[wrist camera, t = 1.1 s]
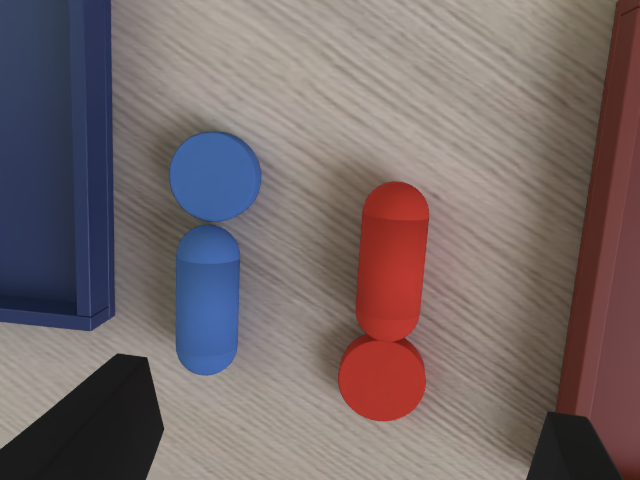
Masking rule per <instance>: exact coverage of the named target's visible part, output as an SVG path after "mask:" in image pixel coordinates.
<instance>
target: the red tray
mask: <svg viewBox="0 0 640 480" xmlns="http://www.w3.org/2000/svg"><path fill="white" fill-rule="evenodd" d="M556 413H563V414H570V415H577V416H585V417H587V418H588V419H589V421H590V422H591V423H592V425H593V427H594V428H595V430H596V432H597V434H598V436H599V437H600V439H601V441H602V443H603V444H604V446H605V448H606V450H607V451H608V453H609V455H610V457H611V458H612V460H613V462H614V464H615V465H616V467H617V469H618V470H619V472H620V474H621V475H622V477H623V479H624V480H640V0H618V1H617V5H616V12H615V19H614V25H613V32H612V39H611V45H610V52H609V59H608V65H607V72H606V79H605V85H604V92H603V99H602V106H601V112H600V119H599V126H598V132H597V139H596V146H595V152H594V159H593V166H592V172H591V179H590V186H589V192H588V199H587V206H586V212H585V219H584V226H583V233H582V239H581V246H580V253H579V259H578V266H577V273H576V279H575V286H574V293H573V299H572V306H571V313H570V319H569V326H568V333H567V339H566V346H565V353H564V360H563V366H562V373H561V380H560V386H559V393H558V400H557V406H556Z"/></svg>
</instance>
